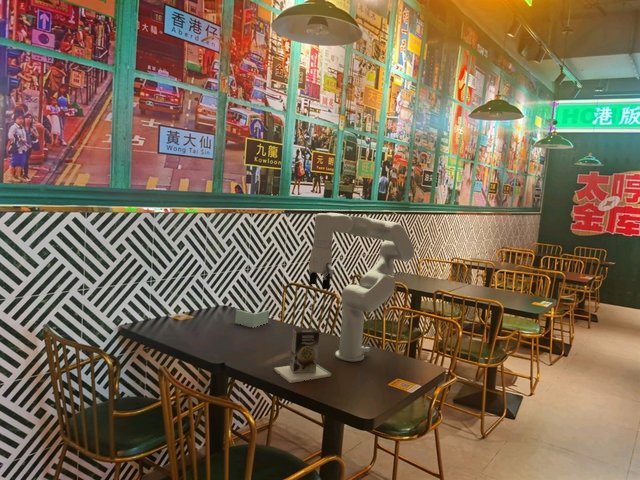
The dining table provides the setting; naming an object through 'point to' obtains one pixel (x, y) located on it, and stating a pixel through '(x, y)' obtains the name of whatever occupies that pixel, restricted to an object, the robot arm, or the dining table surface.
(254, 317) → the l-shaped corner panel
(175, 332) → the dining table surface
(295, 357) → the coffee box
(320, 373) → the notepad
